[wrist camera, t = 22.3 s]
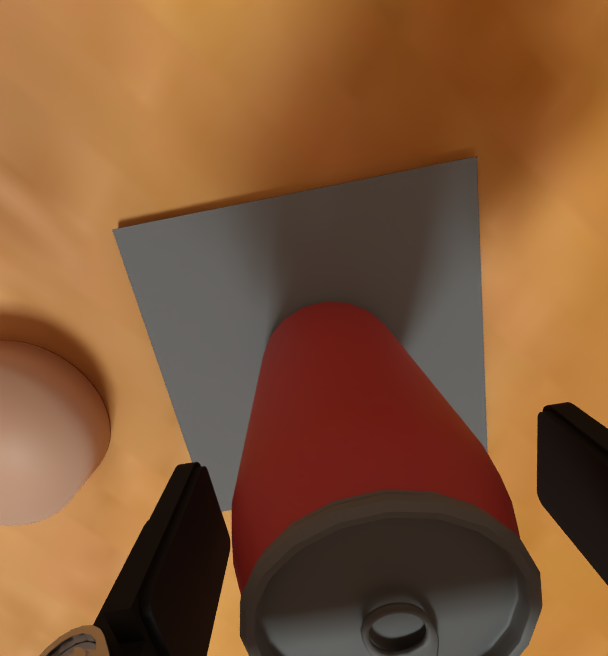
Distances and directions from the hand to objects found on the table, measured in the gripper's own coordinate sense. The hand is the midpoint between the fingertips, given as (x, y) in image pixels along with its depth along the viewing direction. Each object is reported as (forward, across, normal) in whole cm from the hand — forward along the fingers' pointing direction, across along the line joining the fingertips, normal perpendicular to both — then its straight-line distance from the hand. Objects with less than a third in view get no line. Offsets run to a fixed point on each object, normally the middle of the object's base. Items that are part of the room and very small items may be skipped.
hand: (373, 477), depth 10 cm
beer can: (+8, +1, 0) cm, 8 cm away
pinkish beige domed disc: (+8, +17, 0) cm, 19 cm away
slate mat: (+9, +1, 0) cm, 9 cm away
